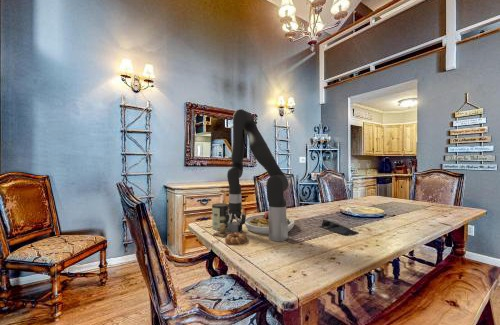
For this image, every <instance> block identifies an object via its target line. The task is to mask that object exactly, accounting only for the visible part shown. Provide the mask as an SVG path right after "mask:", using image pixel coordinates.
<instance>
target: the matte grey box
mask: <svg viewBox="0 0 500 325" xmlns="http://www.w3.org/2000/svg"><path fill="white" fill-rule="evenodd" d="M227 232H231V233H235V232H238V222H237V221H236V220H235V221H234V220H233V221H232V222H231V223H229V224H228V229H227ZM241 232H243V229H242V230H241Z"/></svg>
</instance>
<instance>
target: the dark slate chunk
mask: <svg viewBox="0 0 500 325" xmlns="http://www.w3.org/2000/svg"><path fill="white" fill-rule="evenodd" d="M318 228H321V229H324V230H327V231H329V232H332V233H335V234H339V235H341V236H353V235H354V236H355V235H358V234H360V232H359V231H357V230H353V229H351V228H349V227H346V226H344V225H343V224H341V223H336V222H334V221H330V220H326V219H323V220H322V224H321V225H320V226H319V225H318Z"/></svg>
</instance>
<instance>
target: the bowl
mask: <svg viewBox="0 0 500 325" xmlns="http://www.w3.org/2000/svg"><path fill="white" fill-rule="evenodd" d="M286 220H288V233H289V232H290V231H291V230H292V229H293V228H294V226H295V221H294V219H293V218H290V217H288V216H286ZM244 226H245V228H246V229H247V230H248V231H250V232H251V233H256V234H259V235H268V236H269V210H268V211H266V212H265V213H264V214H257V215H252V216H248V217H246V220H245V224H244Z"/></svg>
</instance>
